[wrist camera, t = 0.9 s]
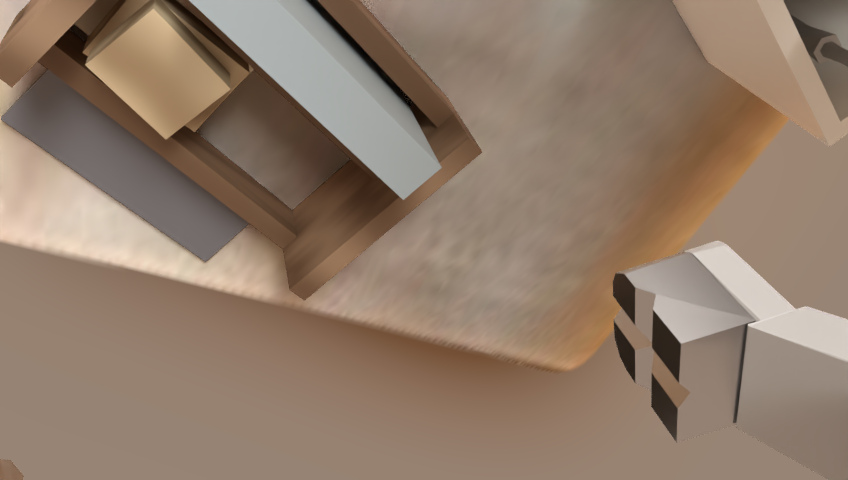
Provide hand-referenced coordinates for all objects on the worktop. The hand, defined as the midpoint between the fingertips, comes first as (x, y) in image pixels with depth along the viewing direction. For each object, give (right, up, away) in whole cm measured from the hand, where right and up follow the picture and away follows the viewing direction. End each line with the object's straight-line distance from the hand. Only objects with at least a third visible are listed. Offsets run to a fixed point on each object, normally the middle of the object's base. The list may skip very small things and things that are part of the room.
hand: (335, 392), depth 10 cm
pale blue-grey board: (-6, +14, +31) cm, 35 cm away
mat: (-15, +6, +34) cm, 38 cm away
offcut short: (-12, +11, +28) cm, 32 cm away
